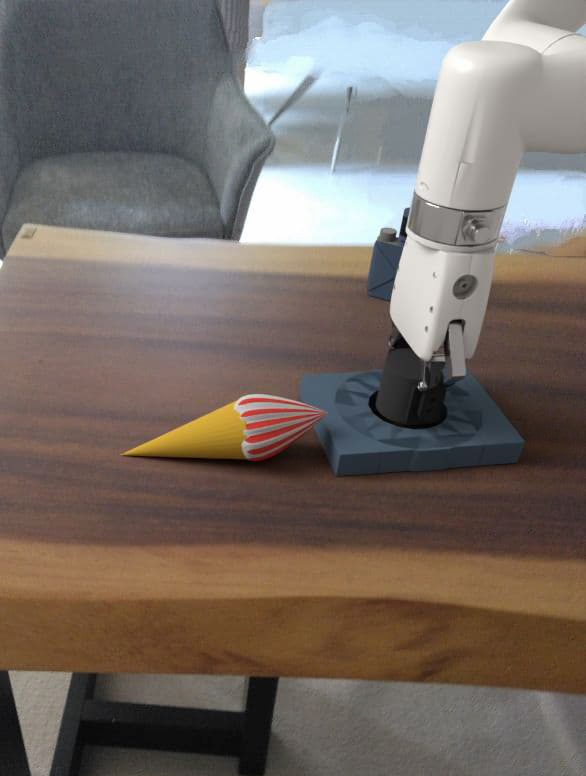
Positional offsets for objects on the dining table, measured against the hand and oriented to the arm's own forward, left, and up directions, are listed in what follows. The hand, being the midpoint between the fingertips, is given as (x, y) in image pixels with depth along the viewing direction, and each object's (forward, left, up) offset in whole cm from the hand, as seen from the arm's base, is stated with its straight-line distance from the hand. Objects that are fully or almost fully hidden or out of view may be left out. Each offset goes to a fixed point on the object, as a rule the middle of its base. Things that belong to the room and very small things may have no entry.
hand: (408, 401), depth 78 cm
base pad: (0, 0, -3) cm, 3 cm away
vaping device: (-8, -29, -3) cm, 30 cm away
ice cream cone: (+19, +2, -3) cm, 19 cm away
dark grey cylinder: (0, 0, -1) cm, 1 cm away
